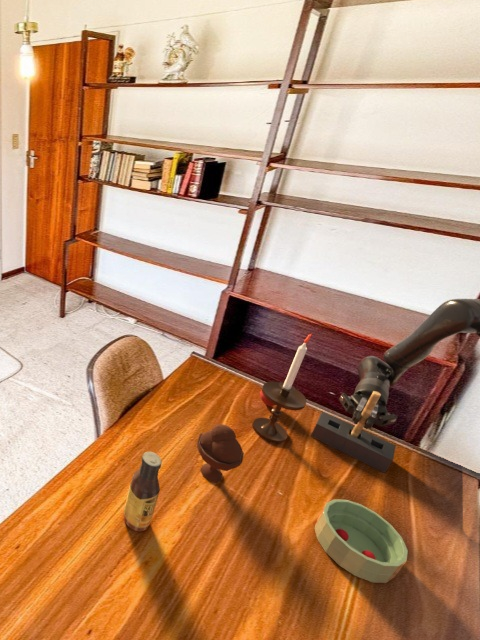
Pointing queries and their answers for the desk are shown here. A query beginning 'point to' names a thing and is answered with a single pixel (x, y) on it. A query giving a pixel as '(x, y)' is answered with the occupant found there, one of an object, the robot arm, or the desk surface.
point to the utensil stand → (354, 442)
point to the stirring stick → (366, 413)
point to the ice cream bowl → (219, 452)
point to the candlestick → (281, 401)
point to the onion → (265, 400)
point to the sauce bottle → (143, 493)
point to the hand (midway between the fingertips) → (361, 423)
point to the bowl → (361, 541)
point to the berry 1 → (342, 534)
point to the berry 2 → (368, 554)
